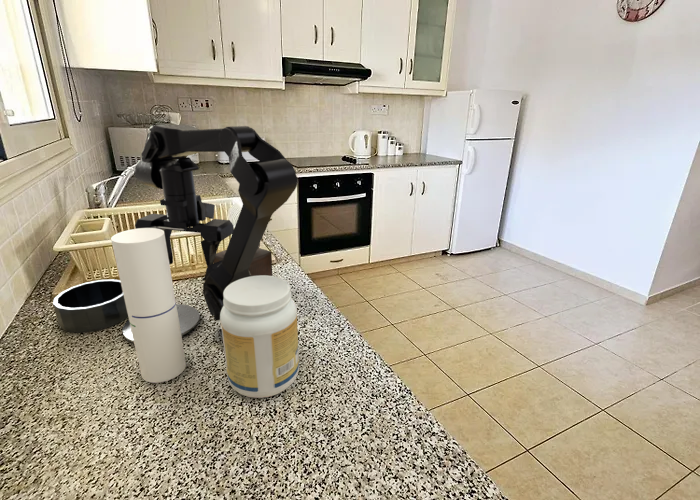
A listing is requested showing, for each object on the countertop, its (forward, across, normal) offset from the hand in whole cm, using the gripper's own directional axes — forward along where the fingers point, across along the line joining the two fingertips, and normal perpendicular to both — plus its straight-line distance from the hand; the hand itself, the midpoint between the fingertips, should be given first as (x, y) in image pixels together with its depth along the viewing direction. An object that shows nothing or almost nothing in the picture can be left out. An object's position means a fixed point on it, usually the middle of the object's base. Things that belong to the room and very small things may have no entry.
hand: (190, 265), depth 78 cm
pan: (+12, +21, +5) cm, 25 cm away
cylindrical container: (+12, -4, +17) cm, 22 cm away
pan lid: (+11, +5, +5) cm, 13 cm away
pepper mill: (+12, -6, -14) cm, 20 cm away
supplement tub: (+12, -22, +15) cm, 30 cm away
